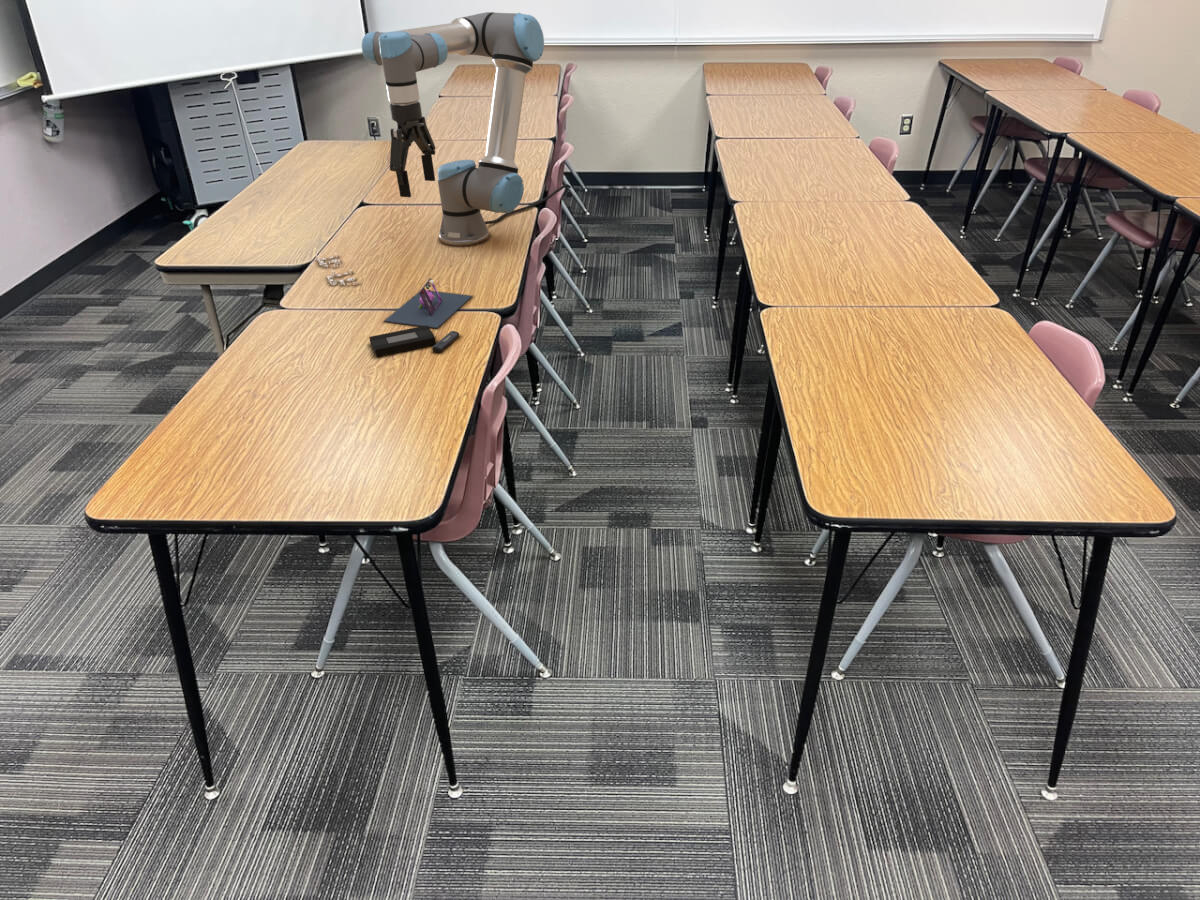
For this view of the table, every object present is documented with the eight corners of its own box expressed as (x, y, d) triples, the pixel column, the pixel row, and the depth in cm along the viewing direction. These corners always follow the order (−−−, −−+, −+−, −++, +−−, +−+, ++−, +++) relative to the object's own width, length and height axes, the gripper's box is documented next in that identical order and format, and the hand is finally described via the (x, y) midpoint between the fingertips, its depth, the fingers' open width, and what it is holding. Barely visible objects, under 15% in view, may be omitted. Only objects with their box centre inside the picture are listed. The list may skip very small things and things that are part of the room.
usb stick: (440, 353, 192) (440, 348, 191) (431, 352, 192) (430, 346, 192) (460, 336, 199) (460, 331, 198) (451, 335, 200) (450, 329, 199)
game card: (422, 291, 204) (433, 277, 212) (404, 296, 206) (416, 282, 213) (434, 314, 208) (444, 300, 215) (416, 320, 209) (427, 305, 217)
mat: (422, 291, 222) (421, 289, 222) (471, 297, 218) (471, 295, 218) (384, 322, 207) (384, 320, 206) (437, 328, 203) (437, 327, 202)
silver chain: (340, 255, 246) (339, 251, 245) (357, 284, 227) (356, 279, 226) (316, 260, 243) (315, 255, 242) (332, 289, 224) (330, 284, 223)
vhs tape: (370, 344, 196) (369, 336, 195) (428, 332, 201) (427, 325, 200) (376, 357, 191) (375, 349, 190) (436, 345, 195) (435, 337, 194)
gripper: (414, 90, 211) (427, 173, 223) (364, 113, 192) (381, 202, 204) (440, 91, 209) (451, 174, 222) (393, 115, 190) (408, 204, 202)
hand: (418, 188), depth 213 cm, fingers open, 13 cm apart
